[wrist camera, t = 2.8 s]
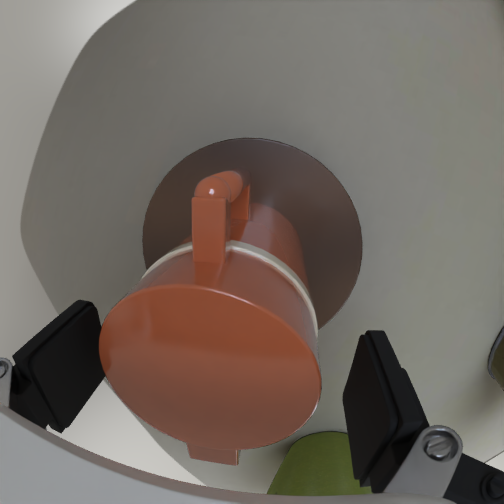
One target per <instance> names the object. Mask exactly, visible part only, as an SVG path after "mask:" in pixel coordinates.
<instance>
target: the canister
mask: <svg viewBox="0 0 504 504" xmlns="http://www.w3.org/2000/svg"><path fill="white" fill-rule="evenodd" d="M488 370H489V373H490V375H491V376H492V377H493V378H494V379H496V380H497V382H498V383H499V385H500V386H501V388H502V389H503V391H504V328H503V329H502V331H501V333H500V335H499V336H498V338H497V340H496V342H495V344H494V346H493V348H492V351H491V354H490V358H489V366H488Z"/></svg>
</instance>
